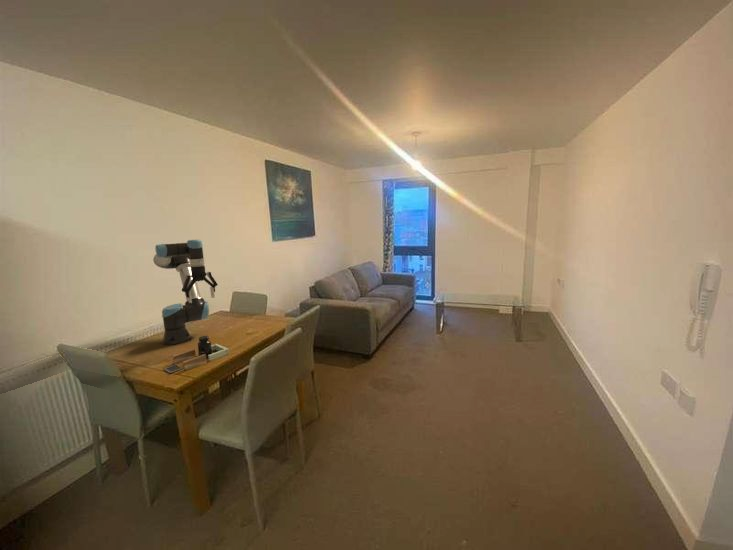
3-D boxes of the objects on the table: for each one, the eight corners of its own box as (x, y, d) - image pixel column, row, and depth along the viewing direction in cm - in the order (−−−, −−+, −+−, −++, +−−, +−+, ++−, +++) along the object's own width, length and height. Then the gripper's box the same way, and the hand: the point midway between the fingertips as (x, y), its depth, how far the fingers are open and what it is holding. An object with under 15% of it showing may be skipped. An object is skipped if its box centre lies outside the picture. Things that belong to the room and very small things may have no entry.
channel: (173, 363, 166) (172, 356, 165) (194, 356, 175) (193, 348, 174) (185, 370, 158) (184, 362, 157) (206, 362, 167) (205, 354, 166)
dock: (198, 355, 176) (197, 350, 176) (217, 348, 185) (216, 343, 184) (210, 360, 168) (209, 355, 168) (229, 353, 177) (228, 348, 176)
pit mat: (163, 369, 160) (163, 368, 159) (176, 365, 164) (175, 364, 164) (170, 374, 155) (170, 372, 155) (182, 369, 160) (182, 368, 160)
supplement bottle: (200, 361, 168) (197, 340, 166) (198, 356, 174) (195, 336, 172) (213, 357, 172) (211, 337, 170) (211, 353, 178) (209, 334, 176)
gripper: (177, 269, 170) (183, 305, 174) (221, 263, 190) (224, 296, 194) (172, 268, 175) (177, 303, 179) (214, 262, 194) (218, 294, 198)
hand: (202, 300), depth 186 cm, fingers open, 13 cm apart
